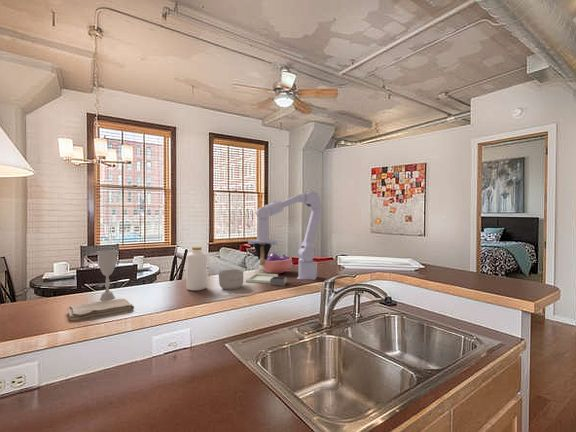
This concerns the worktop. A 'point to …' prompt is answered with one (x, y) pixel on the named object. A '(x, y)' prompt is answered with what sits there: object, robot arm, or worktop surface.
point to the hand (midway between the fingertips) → (262, 259)
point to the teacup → (231, 278)
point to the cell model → (277, 264)
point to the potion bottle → (196, 269)
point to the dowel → (262, 256)
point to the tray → (260, 278)
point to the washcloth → (98, 309)
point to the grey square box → (278, 281)
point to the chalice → (107, 269)
